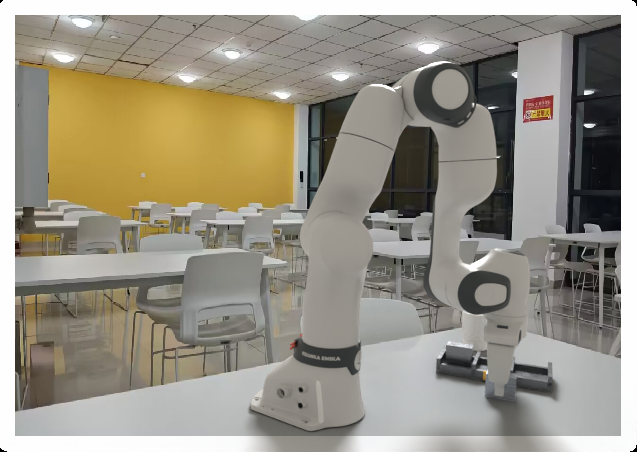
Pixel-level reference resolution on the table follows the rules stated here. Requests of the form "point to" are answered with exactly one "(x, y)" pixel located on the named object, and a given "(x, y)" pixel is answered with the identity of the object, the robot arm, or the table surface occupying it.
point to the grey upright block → (508, 388)
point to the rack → (464, 364)
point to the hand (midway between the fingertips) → (500, 388)
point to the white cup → (473, 331)
